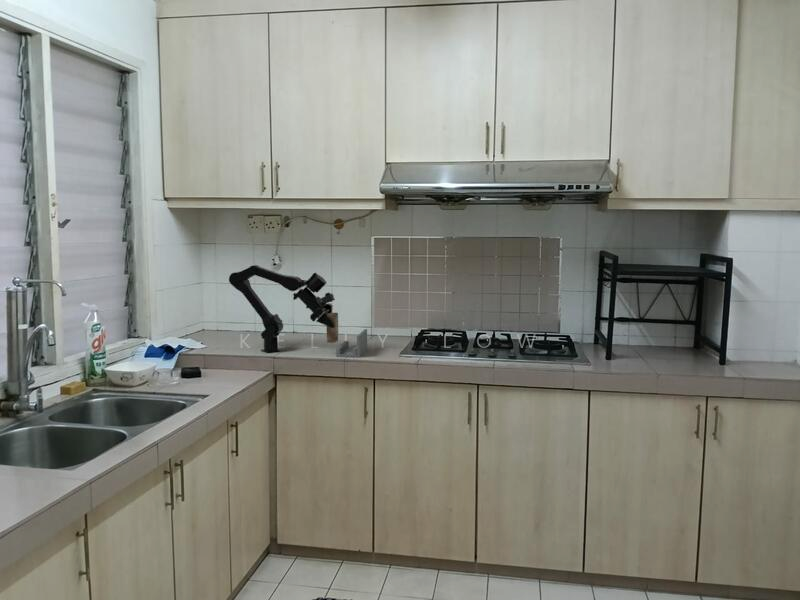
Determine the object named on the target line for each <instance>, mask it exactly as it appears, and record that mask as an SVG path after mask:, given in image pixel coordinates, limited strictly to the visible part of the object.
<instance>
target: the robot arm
mask: <svg viewBox="0 0 800 600" xmlns="http://www.w3.org/2000/svg"><path fill="white" fill-rule="evenodd" d="M254 276H256V277H259V278H262V279H265V280H268V281H271V282H273V283H276V284H279V285H280V286H282V287H283V288H285V289H286V290H288V291H290V292H294V293H293V294H292V295H293V300H294V301H295V300H298V299H299V300H300V301H301V302H302V303H303V304H304V305H305V308H306V309H309V310H310V311H311V312H312V313H311V314H310V316H309V317H310V320H311V321H312V322H313V323H314V322H316V323H320V324H321V325H324V326H326V325H327V326H329V327H331V328H334V327H335V326H334V324H333V323H332V322H331V320H330V319H329V317H328V316H327V314H328V313H333V309H334V306H333V304H332V303H331V302H333V301H335V300H336V299H335V294H333V293H331V292H327V293H325V294H324V296H322V297H320V296H316V295H315V294H314V293H318V292H319V291H321V290H322V289H323V288H324V286H326V284H327V281H326V280H325V278H324V277H322V276H321V275H319V274H318V273H317V272H314V273H312V274H311V276H310V277H309V278H308V279H307V280H306V279H301V277H299V276H295V275H286V274H281V273H279V272H276V271H273V270H270V269H268V268H265V267H261V266H259V265H257V264H254V265H251V266H249V267H247V268H245V269H243V270H241V271H237V272H236V271H235V272H232V273H231V274H229V277H228V282H229V283H230V285H231V286H232V287H233V288H235V290H237V291H239V292H240V293H241V294H242V295H243V296H244V297H245V298H246V300H247V301H248V303H249V304H250V305H251V307H252V308H253V309H254V311H255V313H257V315H258V316H259V317H260V319H261V321H262V325H263V327H264V330H263V331H262V332H261V333H260V336H261V339H263V348H262V349H260V351H261V352H264V353H268V354H269V353H275V352H276V351H277V352H281V351H282V349H279V342H278V341H279V340H278V336H279V335H280V332H282V331H283V329H284V323H283V320H282V319H281V318H280V316H279V315H278V314H277V313H275V314H273V313H271V312H270V310H269V309H268V308H267V306H266V305H265V303H263V301H262V300H261V298H260V297H259V296H258V294H257V293H256V292H255V290H254V289H253V288H252V285H251V282H250V280H249V279H251V278H252V277H254ZM303 287H304V288H303ZM296 291H297V292H296Z"/></svg>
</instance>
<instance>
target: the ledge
mask: <svg viewBox="0 0 800 600" xmlns="http://www.w3.org/2000/svg"><path fill="white" fill-rule="evenodd" d="M349 342H350V341H349V340H344V342H342V343H341V344H340V345H339V346H337V348H336V350H335V351H336V354H335V356H336V357H337V358H361V357H362V356H363V354H365V352H366V351H367V350H368V329H367V328H365V329H363V330H362V331H361V332H359V334H357V335H356V346H350V343H349Z"/></svg>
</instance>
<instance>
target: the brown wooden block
mask: <svg viewBox="0 0 800 600" xmlns="http://www.w3.org/2000/svg"><path fill="white" fill-rule="evenodd" d="M327 316H328V317H329V319H330V320H331V322H332V323H333V324H334V326H335V327H334V328H331V327H329V326H327V325H325V327H326V343H329V344H330V343H331V344H333V343H336V342H338V341H339V313H338V312H332V313H328V314H327Z"/></svg>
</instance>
